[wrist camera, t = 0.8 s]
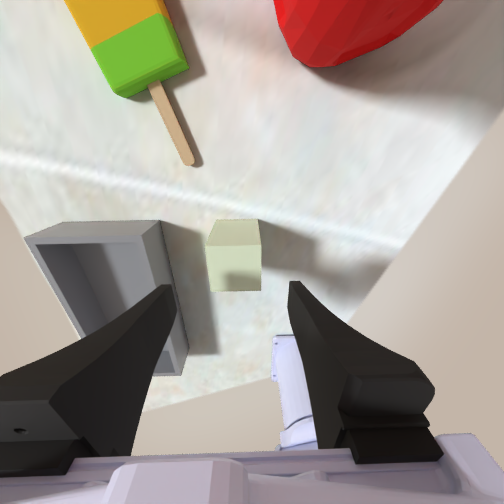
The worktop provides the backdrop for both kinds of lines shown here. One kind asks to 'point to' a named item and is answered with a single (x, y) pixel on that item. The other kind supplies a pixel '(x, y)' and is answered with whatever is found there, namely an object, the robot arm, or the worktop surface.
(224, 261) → the sage block
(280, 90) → the worktop surface
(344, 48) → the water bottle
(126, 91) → the popsicle
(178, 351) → the bin
